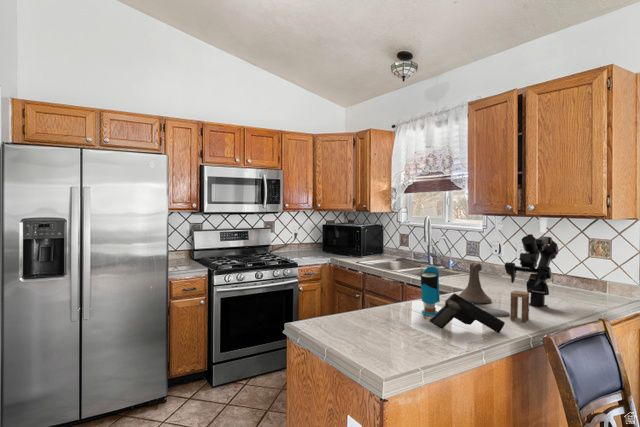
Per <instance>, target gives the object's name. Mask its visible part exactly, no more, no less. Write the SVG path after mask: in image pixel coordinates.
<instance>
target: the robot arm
mask: <svg viewBox="0 0 640 427" xmlns="http://www.w3.org/2000/svg"><path fill="white" fill-rule="evenodd" d="M552 238H553V237H550V236H543V235H542V236H540V237H538V238H536V237H535V236H534V234H531V233H530V234H527V235H525V236H523V237H522V238H521V242H522V248H523V250H524V252H525V253H524V252H520V253H519V258H518V260H519V261H520V262H519V264H520V266H519V265H516V263H515V262H508V261H507V262H505V264H504V265H503V267H504V270H505V273H506V274H507V275H509V276H510V280H511V284H514V282H515V280H516V276H517V275H516V274H517V271H518V272H522V273H527V274H529V278H528V280H526V281H527V282H526V292H529V294H530V296H529V306H533V307H537V308H546V307H548V304H545V302H546V300H545V297H546V296H549V295H550V289H549V285H548V283H547V280H551V278H552V275H553V274H552V270H551V267H550V264H551V261H553V260H555V259H556V257H557V255H559V245H558V243H556V241H554V240H553V239H552ZM539 258H540V259H539ZM538 260H539V261H538Z"/></svg>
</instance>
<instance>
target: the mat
mask: <svg viewBox="0 0 640 427" xmlns="http://www.w3.org/2000/svg"><path fill="white" fill-rule="evenodd" d="M483 310H484V311H486V312H488V313H490V314H491V315H493V316H495V317H496V318H507V317H510V311H509V312H508V311H507V310H503V309H498V308H485V309H483Z"/></svg>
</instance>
